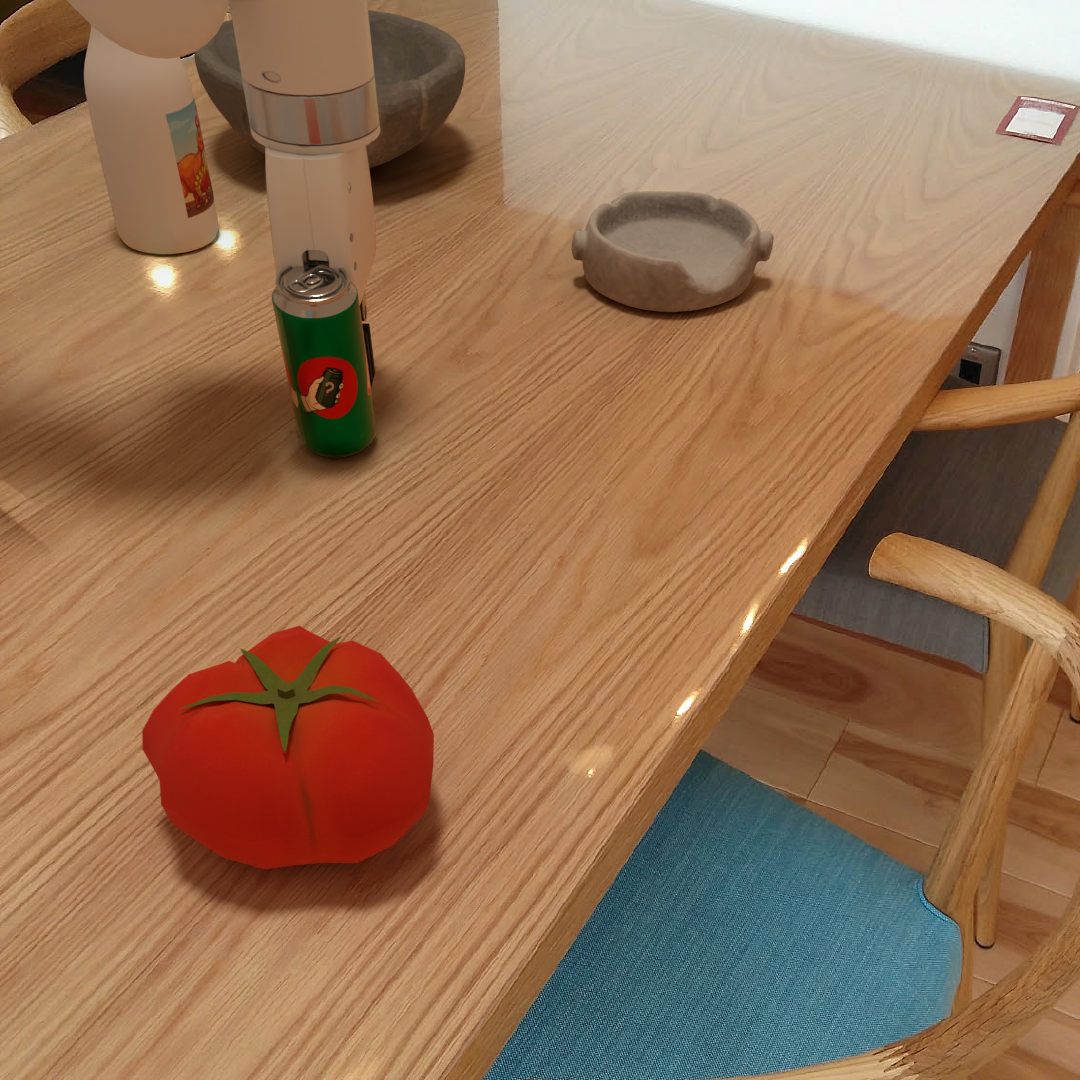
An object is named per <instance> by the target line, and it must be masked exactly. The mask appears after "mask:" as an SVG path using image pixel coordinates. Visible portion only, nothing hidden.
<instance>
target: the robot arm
mask: <svg viewBox="0 0 1080 1080" xmlns="http://www.w3.org/2000/svg"><path fill="white" fill-rule="evenodd" d="M66 2H67V3H68V4H69V5H70V6H71V7H72V8H73V9H74V10H75V11H76V12H77V13H78V14H79V15H80V16H81V17H82V18H83V19H84V20H85V21H86V22H87V23H88V24H89V25H90V26H91V25H92V26H93V27H94V28H95V29H97V30H98V31H99V32H100V33H101V34H103V35H104V36H105V37H107V38H108V39H110V40H111V41H113V42H115V43H116V44H118V45H119V46H121V47H123V48H125V49H127V50H130V51H132V52H134V53H136V54H139V55H143V56H147V57H151V58H163V59H170V58H177V57H180V58H183V57H185V56H188V55H191V54H193V53H195V52H196V51H197V50H199V49H200V48H202V47H203V46H205V45H206V44H208V43H209V41H210V40H211V39H212V38H213V37H214V36H215V35H216V34H217V32H218V31H219V29H220V27H221V25H222V24H223V22H225V19H226V16H227V13H228V9H229V11H230V14H231V20H232V21H233V27H234V33H235V38H236V44H237V50H238V56H239V62H240V68H241V74H242V82H243V88H244V94H245V100H246V106H247V112H248V118H249V123H250V129H251V135H252V136H253V138H254V139H255V140H256V141H257V142H258V143H260V144H262V145H263V146H265V154H264V155H265V157H264V158H265V159H264V160H265V161H264V162H265V183H266V185H265V186H266V199H267V208H268V209H267V210H268V221H269V229H270V237H271V245H272V253H273V261H274V269H275V278H276V277H277V275H278V273H279V272H280V271H281V270H282V269H284V268H285V267H287V266H289V265H290V266H292V268H293V269H294V268H296V267H298V266H304V261H306V260H322V261H328V262H329V267H330V268H333V269H335V270H336V271H337V272H339V268H343V269H344V270H345V271H346V272H347V273H348V275H349V278H350V281H351V282H352V283H353V284H354V285H355V287H356V289H357V291H358V296H359V304H360V311H361V319H362V326H363V333H364V341H365V348H366V355H367V363H368V370H369V377H370V385H371V387H372V386H373V384H374V379H375V375H376V367H375V366H376V365H375V359H374V349H373V341H372V334H371V325H370V323H366V322H367V319H368V307H367V297H366V295H367V294H366V289H367V286H368V282H369V279H370V276H371V273H372V269H373V265H374V263H375V257H376V252H377V229H376V214H375V205H374V197H373V189H372V188H373V187H372V180H371V179H372V178H371V172H370V168H369V164H368V157H367V150H366V145H368V144H370V143H371V142H372V141H374V140H375V139H376V138H377V137H378V136H379V134H380V122H379V112H378V102H377V93H376V83H375V74H374V64H373V58H372V45H371V35H370V25H369V16H368V10H369V7H368V0H66ZM364 322H365V323H364Z"/></svg>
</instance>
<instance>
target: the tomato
mask: <svg viewBox="0 0 1080 1080" xmlns="http://www.w3.org/2000/svg"><path fill="white" fill-rule="evenodd" d="M342 637H343V635H340V636H339V637H337V638H336V639H333V640H332V641H329V640H328V639H326V638H324V637H322V636H321V635H317V634H316V633H314V632H312V631H310V630H308V629H306V628H304V627H302V626H301V625H297V626H293V627H290V628H286V629H283V630H279V631H276V632H272V633H270V634H269V635H268V636H266V637H265V638H263V639H262V640H261V641H259V642H258V643H256V644H255V645H253V646H252V647H251V648H250V649H248V650H246V649H243V648H239V650H240V651H241V653H242V655H240V656H239V657H238V659H236V660H235V662H234V661H231V660H226V661H224V662H222V663H219V664H216V665H212V666H209V667H206V668H203V669H200V670H197V671H194V672H192V673H188V675H186V676H185V677H184V678H183V679H182V680H181V681H179V682H178V683H177V684H176V685H175V686H174V687H173V688H171V690H170V691H169V692H168V693H166V695H165V696H164V697H163V699H162V700H161V701H160V702H159V703H158V704H157V705H156V707H154V709H152V712H151V714H149V715H150V716H149V717H148V719H147V721H146V723H145V724H144V727H143V728H142V731H141V732H142V733H141V734H142V735H141V736H142V737H141V738H142V739H141V740H142V742H141V743H142V744H141V745H142V746H141V747H142V751H143V753H144V755H145V757H146V758H147V760H148V761H149V764H150V766H151V767H152V768H153V770H154V772H155V775H156V777H157V778H158V780H159V792H160V793H159V794H160V805H161V807H162V808H163V810H164V812H165V814H166V816H167V817H168V820H169V821H170V822H171V825H174V826H175V827H176V828H178V829H179V830H180V831H182V832H183V833H185V834H186V835H187V836H189V837H191V838H192V839H193V840H195V841H196V842H198V843H200V845H202V846H204V847H206V848H207V849H208V850H211V851H212V852H213V853H215V854H216V855H217V856H219V857H221V858H223V859H226V860H230V861H234V862H236V863H240V864H244V865H248V866H251V867H255V868H258V869H261V870H271V869H277V868H284V867H294V866H305V865H312V864H359V863H360V862H363V861H364V860H367V859H369V858H371V857H373V856H375V855H376V854H379V853H382V852H383V851H386V850H388V849H390V848H391V847H393V846H395V845H396V844H397V843H398V842H399V841H400V840H401V839H402V837H403V836H404V835H405V834H407V832H408V831H409V830H410V829H411V828H412V827H413V826H414V825H415V824H416V823H417V822H418V821H419V820H420V819H421V818H422V817H423V816H424V815H425V814H426V812H427V811H428V808H429V803H430V796H431V790H432V789H431V787H432V780H433V771H434V761H435V760H434V756H435V754H434V752H435V734H434V731H433V728H432V725H431V722H430V719H429V717H428V716H427V713H426V712H425V710H424V708H423V706H422V704H421V703H420V701H419V700H418V698H417V696H416V693H415V692H414V691H413V689H412V687H411V686H410V685H409V684H408V682H407V681H406V680H405V679H404V678H403V676H402V675H401V674H400V673H399V672H398V671H397V670H396V669H395V667H394V666H393V665H392V664H391V662H390V661H389V660H388V659H387V658H386V657H385V656H384V655H383V654H382V653H381V652H379V651H377V650H374V649H372V648H370V647H368V646H365V645H363V644H362V643H360V642H357V641H355V640H347V641H341V642H339V641H340V640H341V638H342Z"/></svg>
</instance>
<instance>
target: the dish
mask: <svg viewBox="0 0 1080 1080" xmlns="http://www.w3.org/2000/svg"><path fill="white" fill-rule="evenodd" d="M774 238H775V237H774V234H773V232H772V231H769V230H766V231H761V229H760V227H759V225H758V223H757V221H756V219H755V217H753V216H752V214H751V213H750V212H749V211H747V210H746V209H745V208H743V207H741V206H739V205H738V204H737V203H735V202H733V201H731V200H729V199H726V198H721V197H720V198H717V197H714V196H712V195H710V194H707V193H702V192H694V191H671V190H669V191H668V190H667V191H666V190H665V191H661V190H653V191H651V190H650V191H629V192H624V193H623V194H622V195H620V196H619V197H617V198H615V199H612V201H611V202H610V203H607V202H603V203H601V204H600V205H599V206H597V208H595V209H594V210H593V211H592V213H591V214H590V216H589V219H588V220H587V223H586V225H585V229H584V230H581V229H576V230H575V231H574V232H573V234H572V240H571V254H572V258H573V259H574V260H575V261H581V262H582V270H583V274H584V277H585V280H586V281H587V283H588V284H589V285H590V286H591V287H592V289H594V290H595V291H596V292H597V293H599V294H601V295H602V296H604V297H606V298H607V299H610V300H612V301H614V302H617V303H619V304H622V305H624V306H628V307H631V308H636V309H639V310H644V311H652V312H660V313H661V312H662V313H677V312H678V313H679V312H691V311H699V310H703V309H707V308H711V307H715V306H718V305H721V304H724V303H726V302H729V301H731V300H733V299H735V298H737V297H739V296H740V295H741V294H742V293H744V292H745V291H746V290H747V288H748V287H749V286H750V284H751V281H752V279H753V275H754V273H755V270H756V266H757V264H758V263H759V262H767V261H768V260H769V259H770V258H771V254H772V252H773V246H774Z"/></svg>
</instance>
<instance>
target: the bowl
mask: <svg viewBox="0 0 1080 1080" xmlns="http://www.w3.org/2000/svg"><path fill="white" fill-rule="evenodd" d="M368 16H369V25H370V35H371V45H372V58H373V64H374V74H375V83H376V93H377V102H378V112H379V122H380V134H379V136H378V137H377V138H376V139H375V140H374V141H372V142H371V143H370V144H368V145H366V150H367V157H368V164H369V169H372V168H376V167H378V166H382V165H384V164H386V163H388V162H389V163H390V162H391V161H392V160H395V159H396V158H399V157H400V156H402V155H404V154H406V153H408V152H409V151H411V150H412V149H413V148H415V147H417V146H418V145H420V144H421V143H423V142H424V141H426V140H427V139H428V138H430V137H431V136H432V135H433V134H434V133H435V132H436V131H437V130H438V129H439V128H440V127H441V126H442V125H443V124H444V123H445V122H446V121H447V119H448V117H449V116H450V115H451V113H452V111H454V109H455V107H456V105H457V102H458V101H459V98H460V96H461V93H462V91H463V86H464V81H465V74H466V55H465V53H464V49H462V47H461V45H460V43H459V41H457V39H456V38H454V37H453V36H452V35H451V34H450V33H448V32H447V31H445V30H443V29H440V28H439V27H437V26H434V25H433V24H431V23H428V22H425V21H421V20H417V19H415V18H411V17H408V16H404V15H401V14H395V13H390V12H385V11H378V10H372V9H371V10H369V9H368ZM194 63H195V68H196V70H197V75H198V78H199V80H200V83H201V84H202V86H203V88H204V90H205V92H206V94H207V96H208V97H209V98H210V100H211V102H212V104H213V105H214V106H215V108H216V109H217V110H218V112H219V113H220V114H221V115H222V116H223V118H224V119H225V121H226V122H227V123H228V124H229V125H230V127H231V129H233V130H234V131H235V132H236V133H237V134H238V135H239V136H240V137H241V138H242V139H243V140H244V141H245V142H247V143H248V144H249V145H250V146H252V147H253V148H254V149H256V150H257V151H259V152H261V153H262V154H263V155H265V146H263V145H262V144H260V143H258V142H257V141H256V140H255V139H254V138H253V136H252V135H251V129H250V123H249V118H248V112H247V106H246V100H245V94H244V88H243V82H242V74H241V68H240V62H239V56H238V50H237V44H236V38H235V33H234V27H233V21H232V19H230V20H224V22H223V24H222V25H221V27H220V29H219V31H218V32H217V34H216V35H215V36H214V37H213V38H212V39H211V40H210V41H209V43H208V44H206V45H205V46H203V47H202V48H200V49H199V50H197V51H196V52H194Z"/></svg>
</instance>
